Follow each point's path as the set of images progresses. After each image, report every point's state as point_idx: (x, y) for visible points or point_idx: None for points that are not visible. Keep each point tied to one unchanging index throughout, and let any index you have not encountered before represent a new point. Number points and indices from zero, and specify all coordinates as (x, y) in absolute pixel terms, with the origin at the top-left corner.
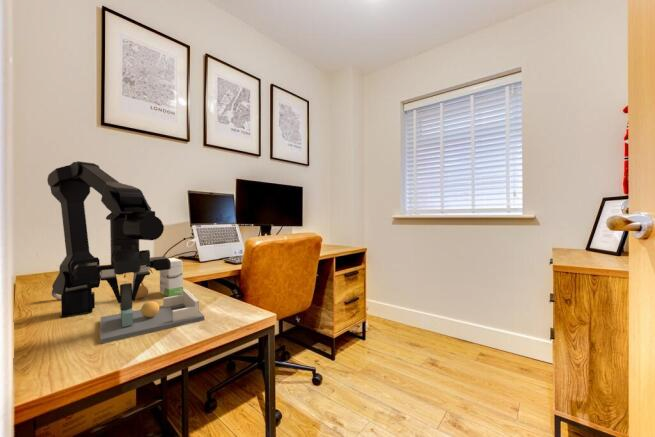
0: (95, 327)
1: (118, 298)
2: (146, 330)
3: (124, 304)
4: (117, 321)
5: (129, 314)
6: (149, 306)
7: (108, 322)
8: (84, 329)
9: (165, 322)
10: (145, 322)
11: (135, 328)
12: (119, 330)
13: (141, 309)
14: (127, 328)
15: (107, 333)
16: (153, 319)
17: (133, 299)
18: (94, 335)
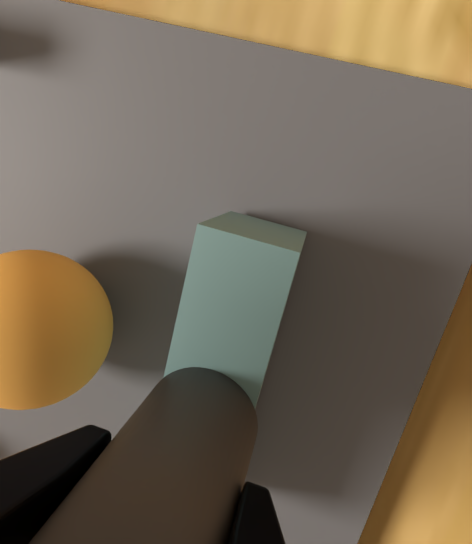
0: (394, 506)
1: (260, 534)
2: (189, 29)
3: (215, 418)
4: (277, 426)
5: (234, 229)
6: (16, 286)
7: (329, 465)
8: (458, 534)
9: (29, 57)
10: (139, 207)
11: (241, 126)
12: (345, 195)
13: (91, 350)
14: (284, 187)
15: (438, 206)
16: (75, 224)
17: (90, 434)
18: (465, 351)
